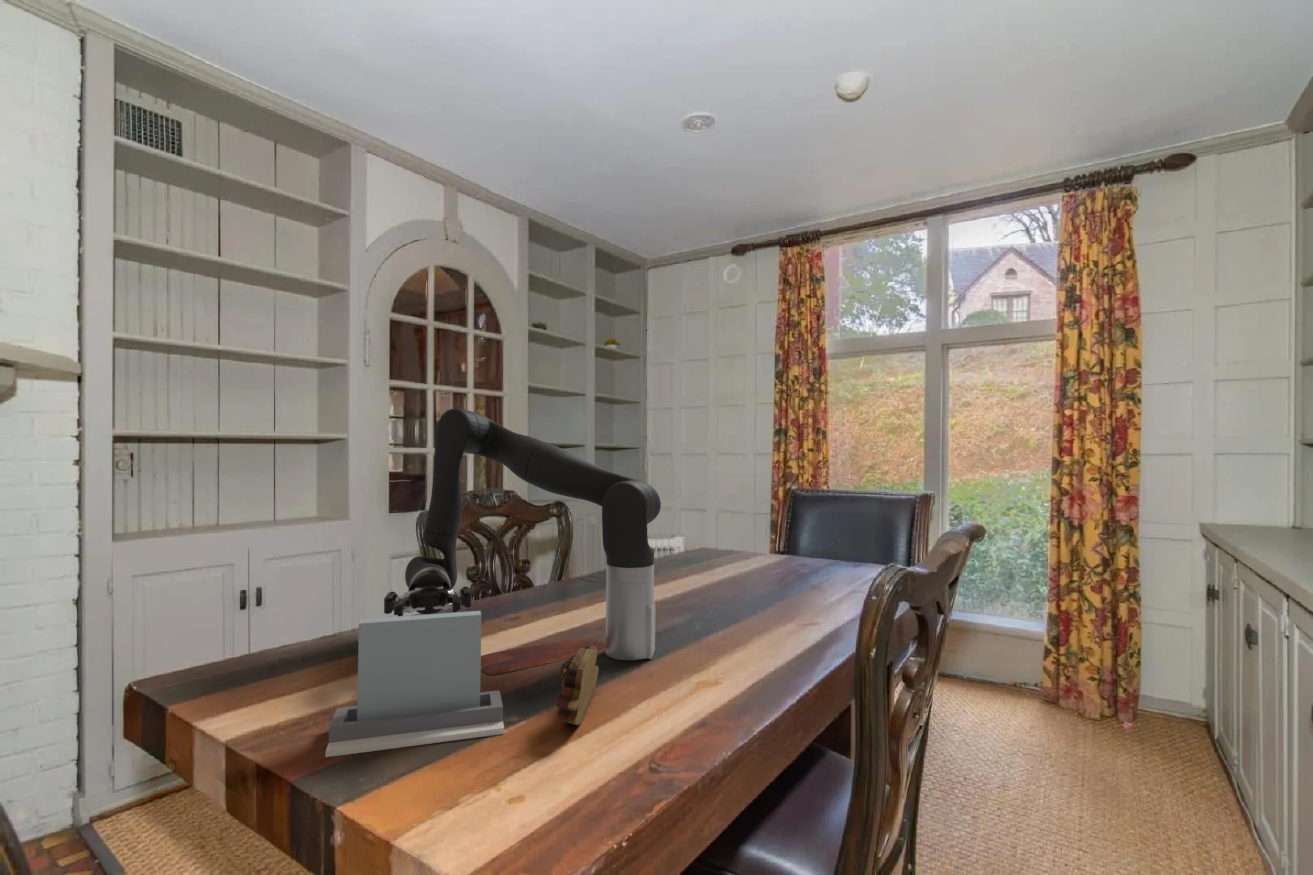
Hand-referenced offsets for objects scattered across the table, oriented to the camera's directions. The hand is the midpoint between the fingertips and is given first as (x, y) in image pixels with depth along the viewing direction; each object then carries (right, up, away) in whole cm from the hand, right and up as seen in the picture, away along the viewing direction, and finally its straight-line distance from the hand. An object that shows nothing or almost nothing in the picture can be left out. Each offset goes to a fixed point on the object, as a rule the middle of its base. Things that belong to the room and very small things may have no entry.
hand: (428, 609), depth 104 cm
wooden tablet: (+16, -14, +16) cm, 27 cm away
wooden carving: (+26, -13, -12) cm, 32 cm away
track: (+5, -12, -16) cm, 21 cm away
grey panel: (+4, -11, -13) cm, 18 cm away
